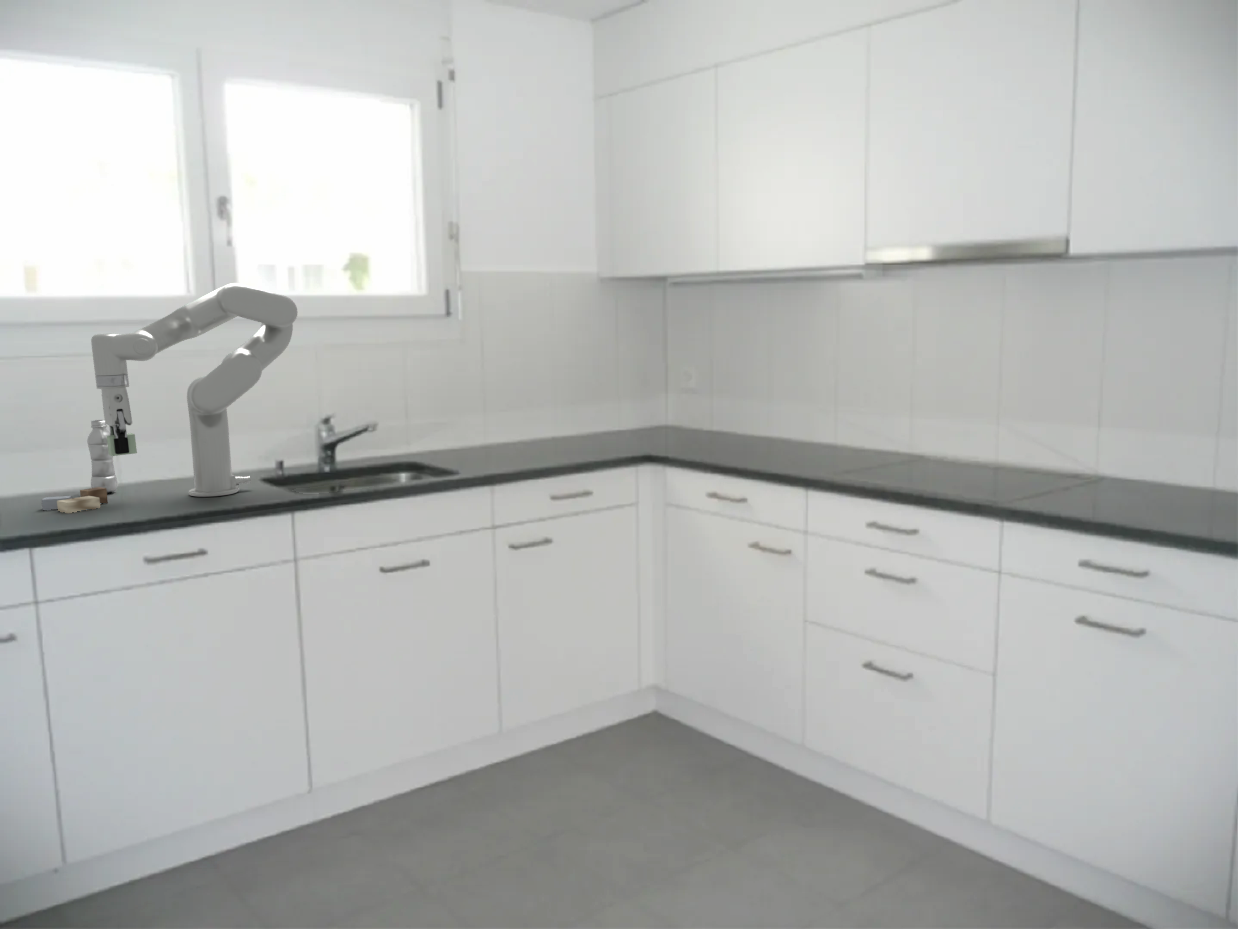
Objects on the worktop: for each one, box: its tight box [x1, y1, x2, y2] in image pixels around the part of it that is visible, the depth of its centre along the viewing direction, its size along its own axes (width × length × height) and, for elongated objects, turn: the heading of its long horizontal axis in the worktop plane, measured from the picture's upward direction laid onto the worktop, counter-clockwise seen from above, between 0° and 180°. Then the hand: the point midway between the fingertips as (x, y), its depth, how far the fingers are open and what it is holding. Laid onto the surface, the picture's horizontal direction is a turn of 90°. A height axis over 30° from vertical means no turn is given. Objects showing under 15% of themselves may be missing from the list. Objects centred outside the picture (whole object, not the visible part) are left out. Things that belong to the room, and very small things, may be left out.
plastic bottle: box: [86, 419, 118, 494], centre depth 272 cm, size 6×7×20 cm
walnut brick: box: [79, 487, 109, 504], centre depth 258 cm, size 5×4×4 cm
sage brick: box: [107, 432, 138, 457], centre depth 259 cm, size 6×4×5 cm, turn 128°
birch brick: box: [57, 496, 101, 514], centre depth 250 cm, size 8×5×3 cm, turn 146°
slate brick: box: [41, 495, 72, 511], centre depth 252 cm, size 6×4×3 cm, turn 108°
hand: (120, 451), depth 259 cm, fingers closed on sage brick, 3 cm apart
